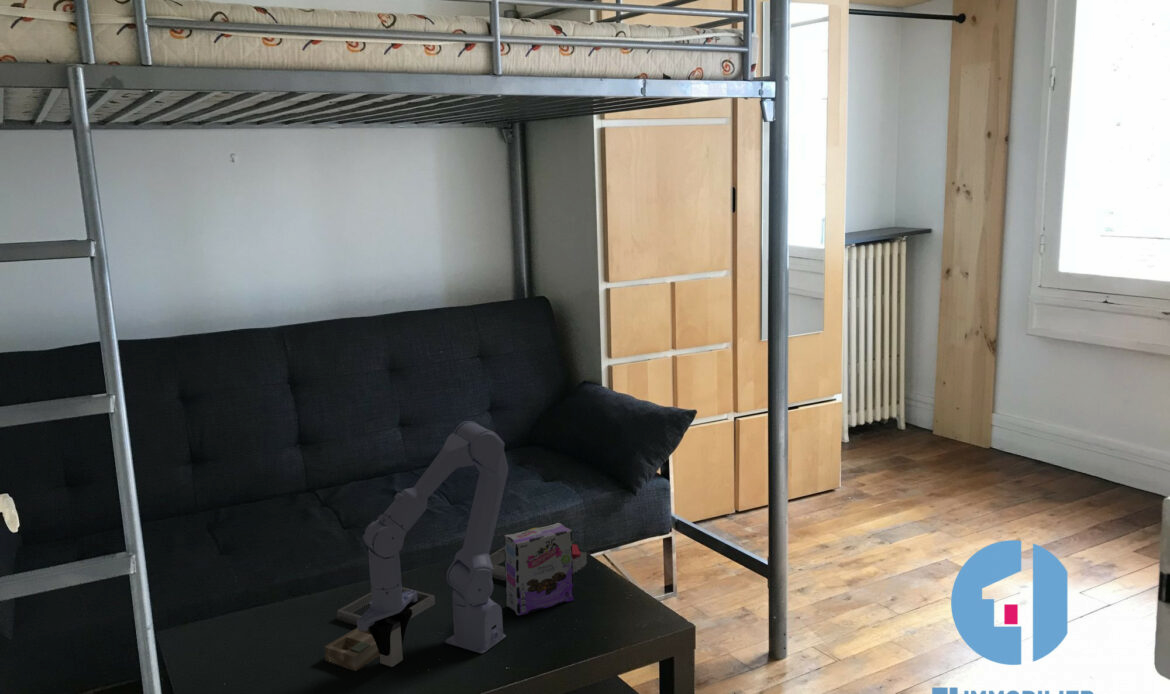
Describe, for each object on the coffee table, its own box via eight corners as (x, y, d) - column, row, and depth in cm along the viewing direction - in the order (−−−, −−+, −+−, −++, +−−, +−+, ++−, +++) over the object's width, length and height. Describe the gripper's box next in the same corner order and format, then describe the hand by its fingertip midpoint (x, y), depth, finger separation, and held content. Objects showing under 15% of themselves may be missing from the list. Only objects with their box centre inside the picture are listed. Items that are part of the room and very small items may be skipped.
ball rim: (586, 564, 226) (586, 552, 226) (548, 591, 213) (547, 579, 212) (519, 549, 237) (518, 538, 236) (478, 574, 223) (477, 562, 222)
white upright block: (402, 660, 184) (400, 621, 182) (392, 667, 181) (389, 628, 180) (391, 656, 185) (388, 618, 184) (380, 663, 183) (377, 624, 181)
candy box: (518, 617, 201) (515, 543, 198) (505, 606, 206) (502, 534, 203) (574, 600, 208) (572, 529, 205) (561, 591, 213) (559, 521, 210)
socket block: (402, 641, 192) (401, 626, 191) (355, 671, 181) (354, 655, 180) (372, 632, 196) (371, 617, 195) (325, 661, 185) (324, 645, 184)
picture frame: (434, 604, 208) (434, 595, 208) (385, 634, 195) (384, 625, 194) (388, 591, 215) (387, 582, 214) (337, 619, 202) (336, 610, 201)
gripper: (396, 565, 188) (400, 629, 191) (342, 594, 176) (348, 661, 179) (423, 572, 185) (427, 637, 187) (371, 602, 173) (376, 671, 175)
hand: (390, 649), depth 183 cm, fingers closed on white upright block, 3 cm apart
